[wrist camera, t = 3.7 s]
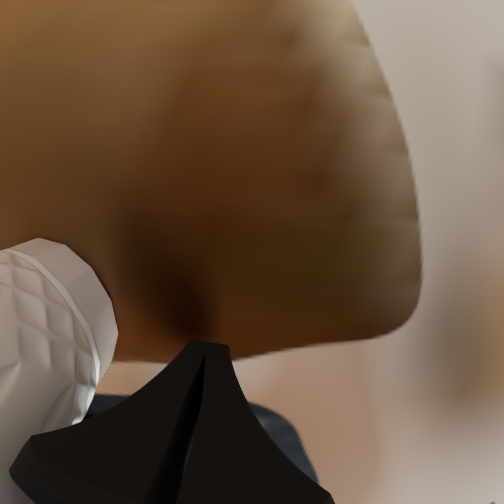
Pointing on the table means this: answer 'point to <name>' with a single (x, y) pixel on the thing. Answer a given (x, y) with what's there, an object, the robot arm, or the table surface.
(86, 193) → the table surface
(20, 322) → the white cup
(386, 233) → the table surface
